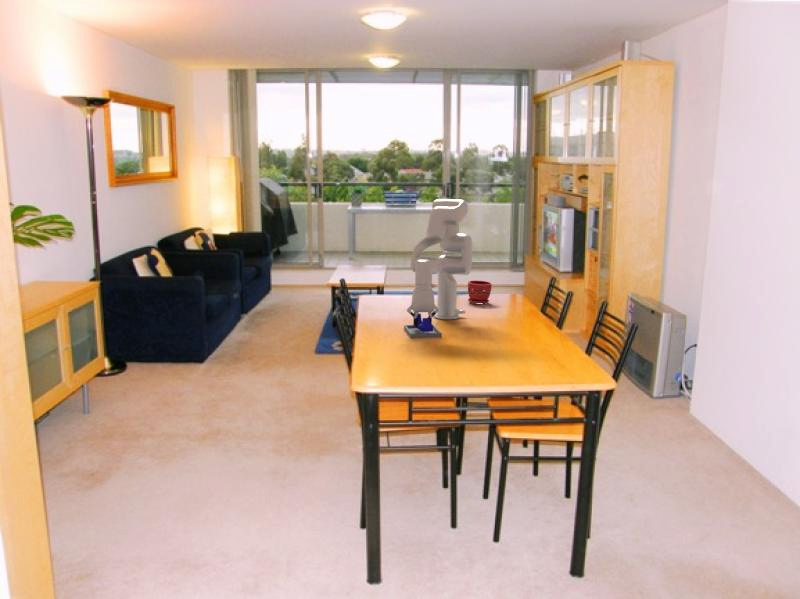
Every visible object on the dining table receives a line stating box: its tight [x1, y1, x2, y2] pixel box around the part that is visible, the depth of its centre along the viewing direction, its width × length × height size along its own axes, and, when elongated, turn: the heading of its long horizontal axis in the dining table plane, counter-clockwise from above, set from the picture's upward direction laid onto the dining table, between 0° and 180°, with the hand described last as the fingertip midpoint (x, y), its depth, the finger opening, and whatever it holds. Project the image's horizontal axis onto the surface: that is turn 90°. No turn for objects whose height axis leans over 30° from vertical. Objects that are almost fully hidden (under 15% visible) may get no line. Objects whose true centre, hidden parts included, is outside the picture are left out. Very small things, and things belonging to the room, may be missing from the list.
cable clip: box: [412, 312, 434, 332], centre depth 326 cm, size 12×4×6 cm, turn 21°
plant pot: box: [467, 280, 492, 304], centre depth 402 cm, size 13×13×12 cm
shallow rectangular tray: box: [403, 324, 443, 339], centre depth 327 cm, size 14×18×2 cm
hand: (422, 326), depth 327 cm, fingers closed on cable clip, 5 cm apart
